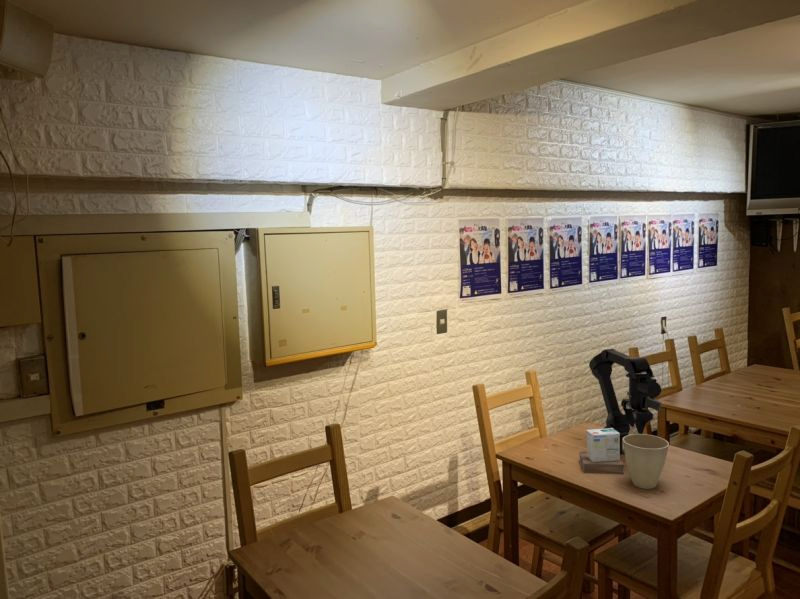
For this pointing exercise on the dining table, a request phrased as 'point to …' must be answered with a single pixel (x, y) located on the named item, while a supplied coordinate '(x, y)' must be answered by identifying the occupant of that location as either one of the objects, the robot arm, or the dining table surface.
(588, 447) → the light bulb box
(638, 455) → the plant pot
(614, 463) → the walnut block
